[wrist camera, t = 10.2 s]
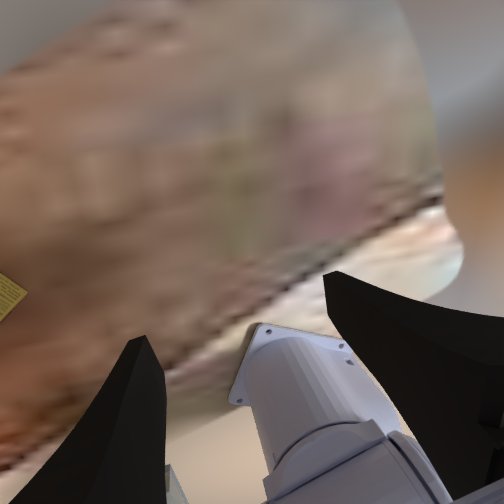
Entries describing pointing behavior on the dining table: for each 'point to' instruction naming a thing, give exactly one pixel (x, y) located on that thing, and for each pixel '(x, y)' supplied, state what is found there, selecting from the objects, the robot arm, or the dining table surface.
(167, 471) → the base slab
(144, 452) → the robot arm
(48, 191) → the dining table surface
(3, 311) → the candy box
